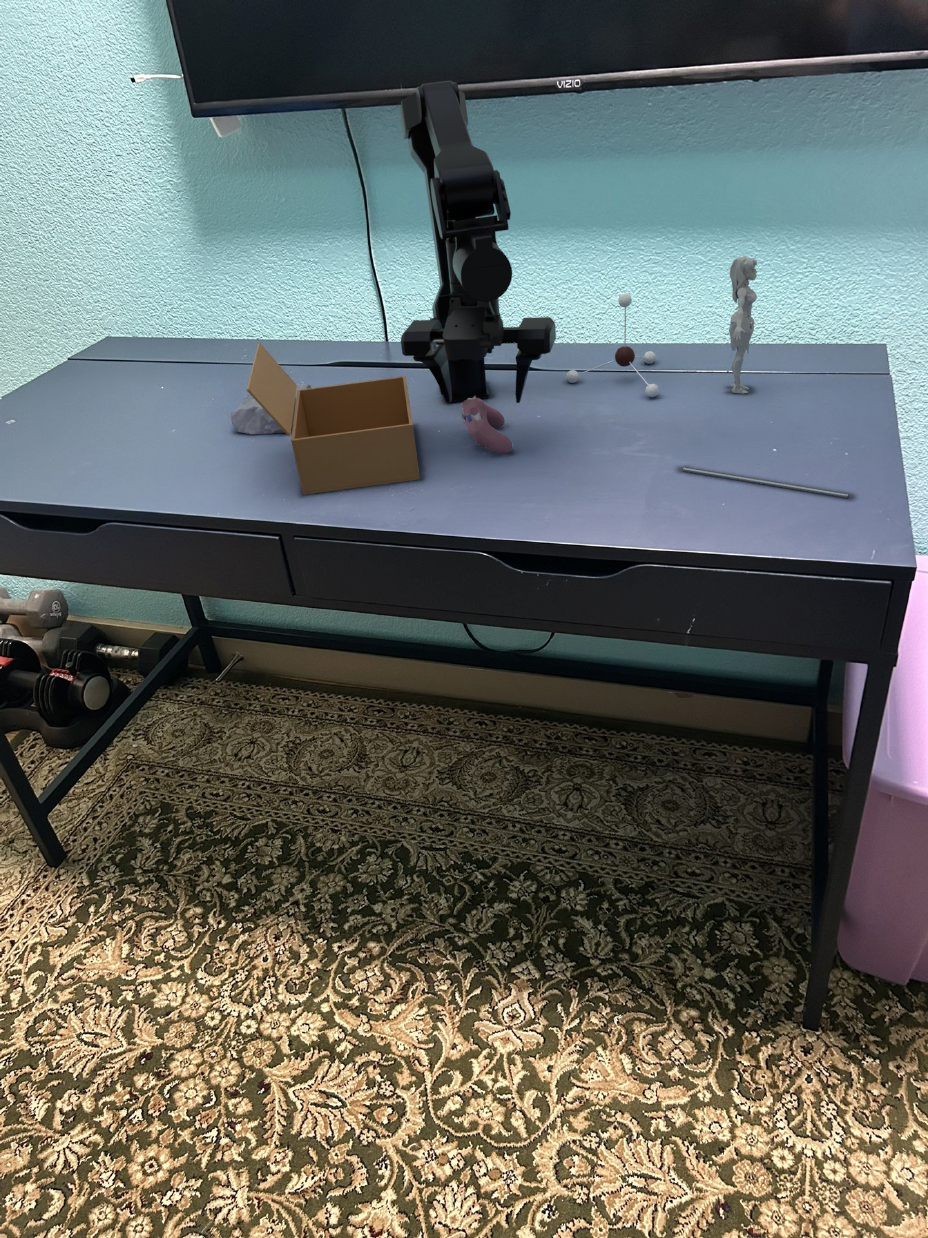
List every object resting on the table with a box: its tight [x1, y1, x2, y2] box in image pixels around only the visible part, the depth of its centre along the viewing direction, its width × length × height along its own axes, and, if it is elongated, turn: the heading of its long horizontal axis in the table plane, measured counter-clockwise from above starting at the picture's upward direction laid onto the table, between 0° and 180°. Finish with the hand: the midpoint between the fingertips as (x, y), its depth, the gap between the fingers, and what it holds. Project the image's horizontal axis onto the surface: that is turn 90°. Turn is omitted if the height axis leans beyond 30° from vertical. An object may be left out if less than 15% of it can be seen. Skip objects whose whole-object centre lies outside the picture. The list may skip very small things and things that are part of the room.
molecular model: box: [565, 293, 660, 398], centre depth 128 cm, size 13×15×13 cm
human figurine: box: [728, 255, 758, 394], centre depth 121 cm, size 12×4×18 cm, turn 163°
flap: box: [246, 342, 297, 437], centre depth 113 cm, size 17×7×1 cm
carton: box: [290, 375, 421, 496], centre depth 117 cm, size 17×15×7 cm
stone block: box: [230, 382, 312, 436], centre depth 133 cm, size 12×5×10 cm
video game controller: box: [460, 396, 513, 454], centre depth 119 cm, size 10×5×7 cm, turn 5°
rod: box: [682, 466, 850, 500], centre depth 104 cm, size 1×19×1 cm, turn 58°
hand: (483, 401), depth 117 cm, fingers open, 9 cm apart
